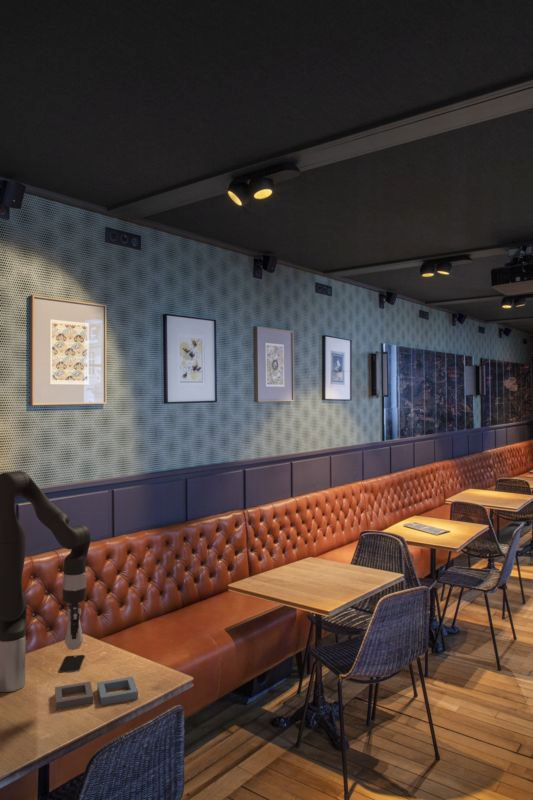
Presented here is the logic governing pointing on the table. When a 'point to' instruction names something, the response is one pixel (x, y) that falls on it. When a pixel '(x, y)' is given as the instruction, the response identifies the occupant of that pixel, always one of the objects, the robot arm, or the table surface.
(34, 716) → the table surface
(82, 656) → the smartphone
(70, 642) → the salt shaker
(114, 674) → the table surface
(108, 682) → the collar
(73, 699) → the collar
